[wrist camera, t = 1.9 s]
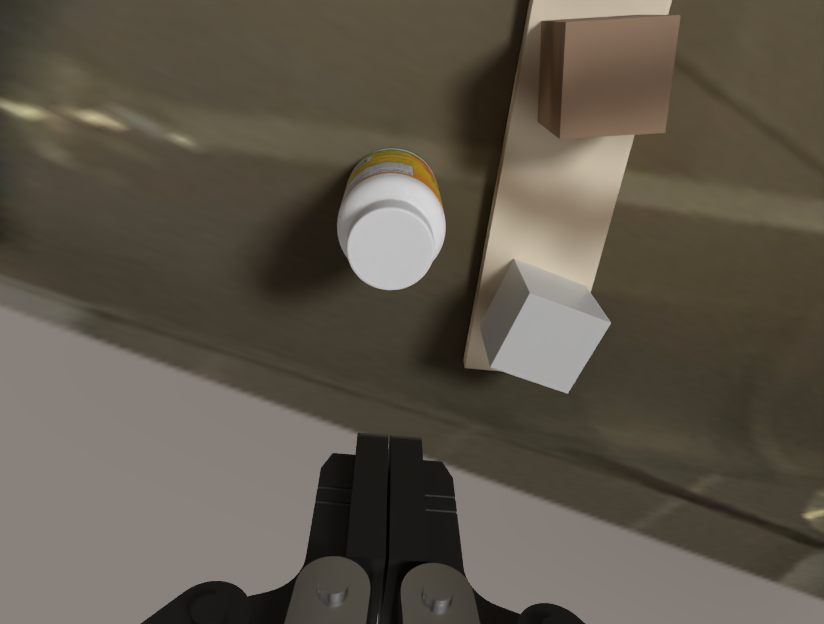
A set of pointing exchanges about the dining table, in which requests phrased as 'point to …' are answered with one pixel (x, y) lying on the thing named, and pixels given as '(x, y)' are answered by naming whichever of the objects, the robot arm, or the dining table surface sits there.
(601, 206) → the birch strip
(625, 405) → the dining table surface
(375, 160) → the supplement bottle
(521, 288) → the grey block
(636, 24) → the walnut block
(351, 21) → the dining table surface
